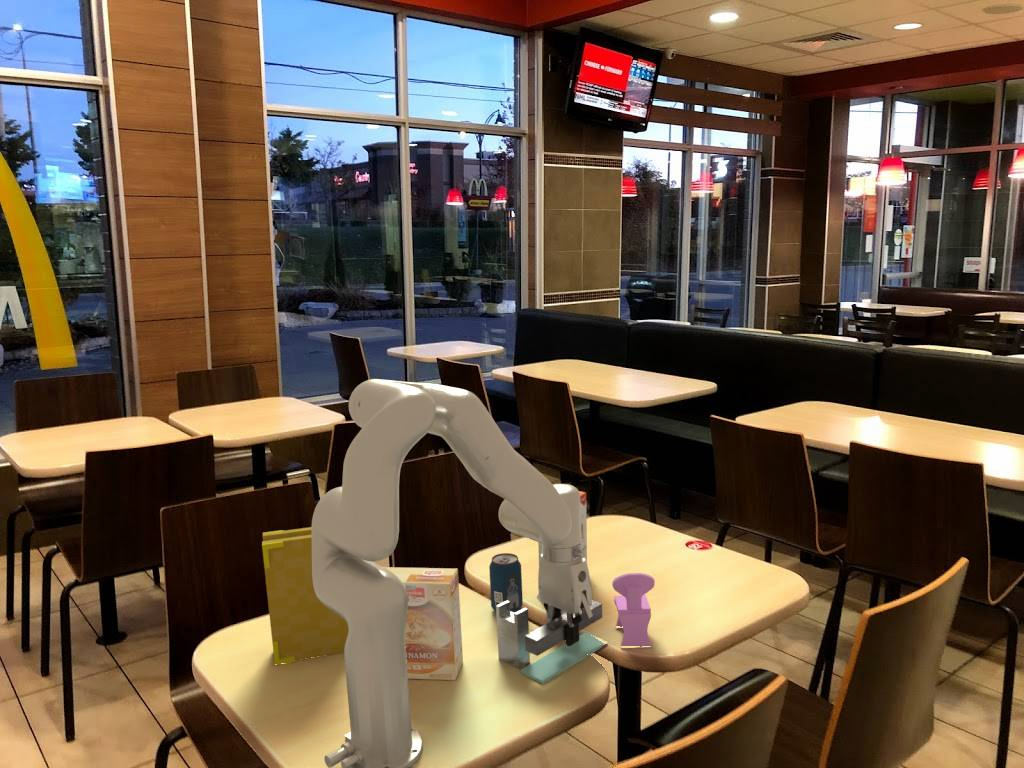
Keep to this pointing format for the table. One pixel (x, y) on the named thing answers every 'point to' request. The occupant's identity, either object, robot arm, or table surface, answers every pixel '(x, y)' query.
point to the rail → (557, 631)
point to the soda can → (506, 581)
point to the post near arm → (512, 635)
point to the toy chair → (633, 607)
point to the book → (297, 600)
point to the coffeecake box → (432, 622)
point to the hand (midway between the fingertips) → (565, 639)
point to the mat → (562, 658)
